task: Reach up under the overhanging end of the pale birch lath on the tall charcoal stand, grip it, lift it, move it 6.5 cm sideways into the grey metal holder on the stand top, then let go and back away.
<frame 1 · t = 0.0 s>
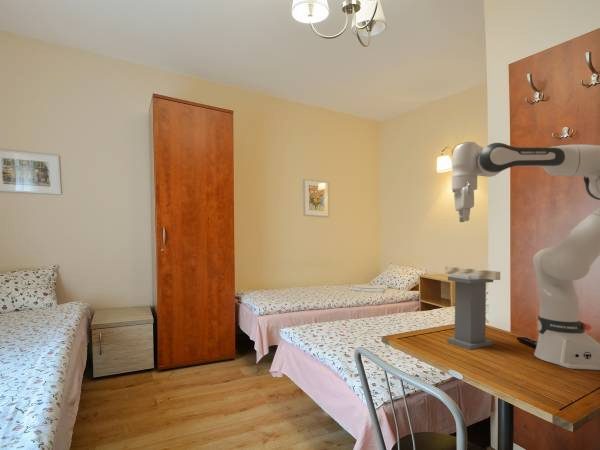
hand: (464, 221, 133), 48 cm above the table, fingers open, 8 cm apart
lath: (471, 276, 142), point 26 cm above the table, touching stand
stand: (469, 343, 138), on the table
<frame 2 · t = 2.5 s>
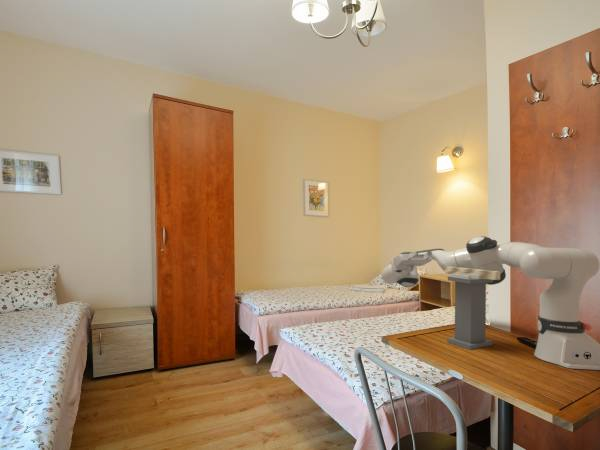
hand: (423, 252, 163), 34 cm above the table, fingers open, 8 cm apart
nothing on the table moved.
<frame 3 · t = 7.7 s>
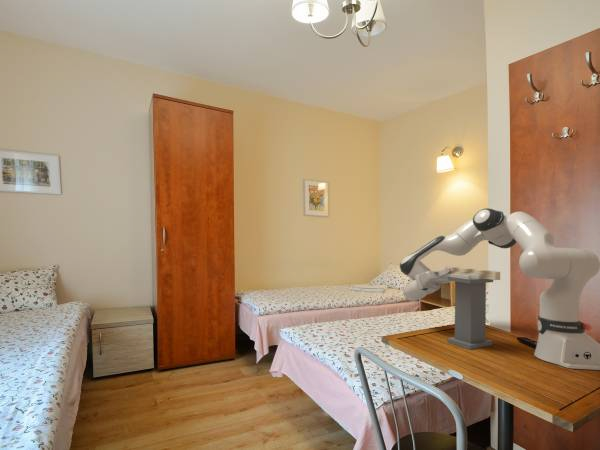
hand: (453, 269, 150), 28 cm above the table, fingers closed on lath, 3 cm apart
lath: (471, 276, 142), point 26 cm above the table, touching gripper, stand
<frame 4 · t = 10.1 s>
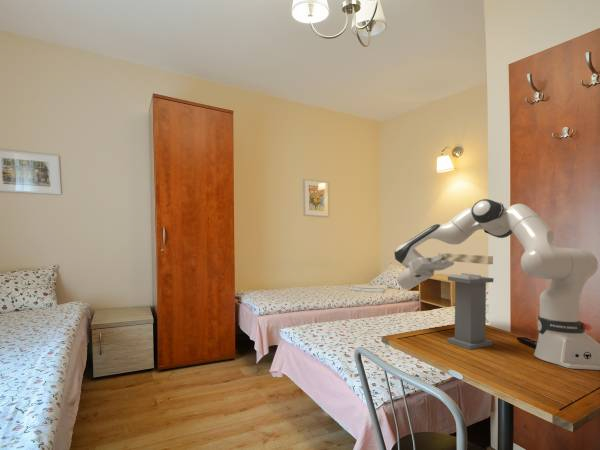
hand: (446, 255, 148), 34 cm above the table, fingers closed on lath, 3 cm apart
lath: (463, 261, 141), point 32 cm above the table, touching gripper
when the fingers open (29 cm above the table, at t = 12.8 s): lath stays where it is, resting on stand.
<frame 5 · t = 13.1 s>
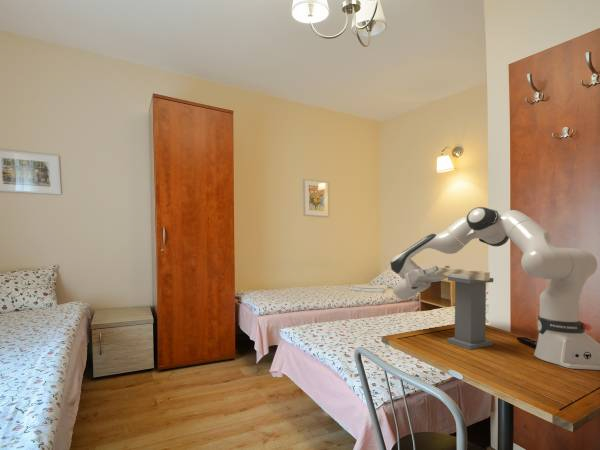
hand: (442, 267, 147), 29 cm above the table, fingers open, 6 cm apart
lath: (460, 277, 139), point 26 cm above the table, touching stand
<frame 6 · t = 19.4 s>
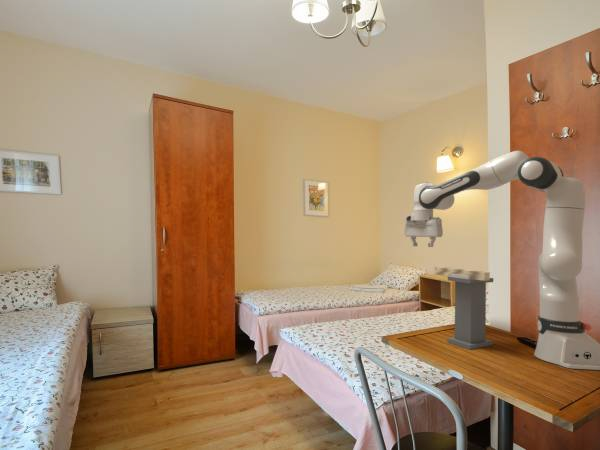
hand: (422, 246, 165), 37 cm above the table, fingers open, 8 cm apart
nothing on the table moved.
at the end: lath 0.1 cm from the target spot, point 26.0 cm above the table; lath tilted 0°; the gripper is holding nothing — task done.
